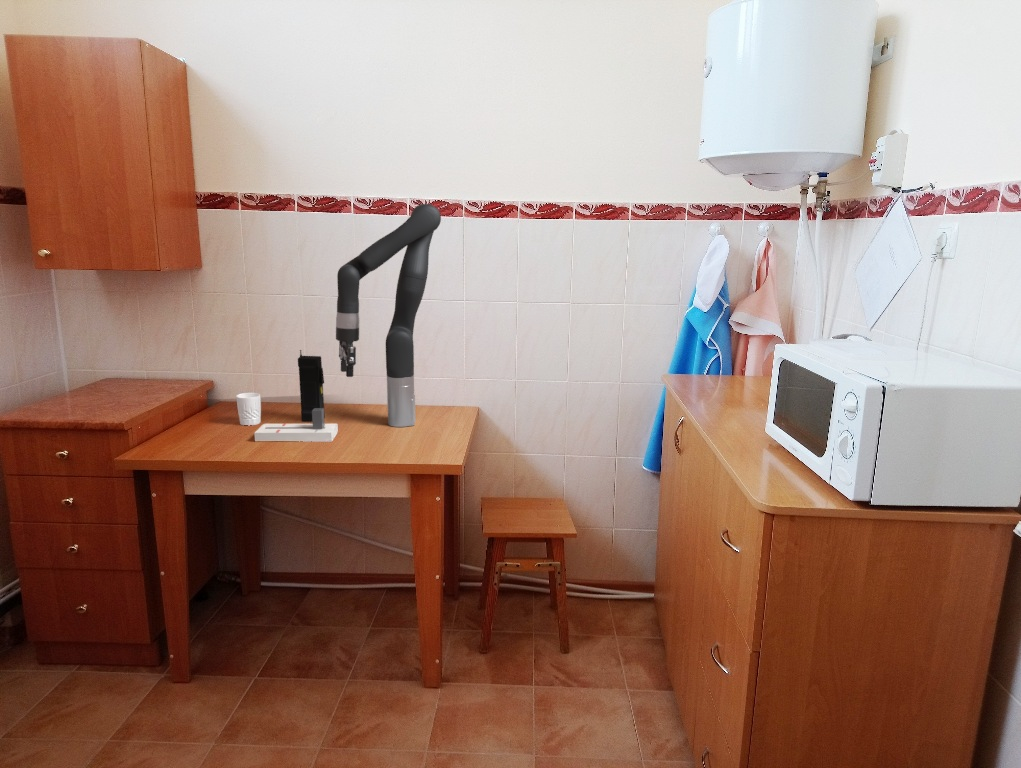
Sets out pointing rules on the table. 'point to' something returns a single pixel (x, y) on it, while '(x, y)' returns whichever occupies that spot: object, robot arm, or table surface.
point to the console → (296, 432)
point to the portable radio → (310, 385)
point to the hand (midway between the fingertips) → (346, 374)
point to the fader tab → (318, 418)
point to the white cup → (249, 408)
